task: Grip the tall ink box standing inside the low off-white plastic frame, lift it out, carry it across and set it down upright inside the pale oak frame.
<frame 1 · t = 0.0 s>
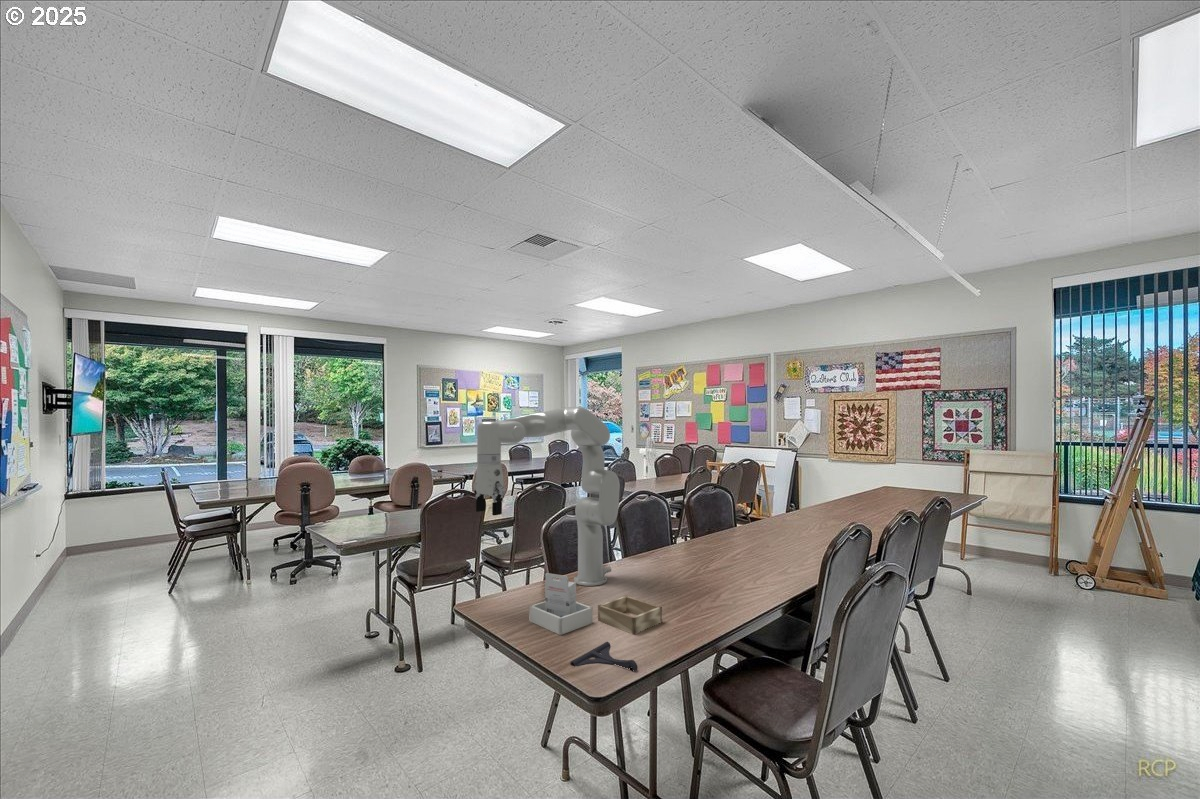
hand: (488, 513, 163), 31 cm above the table, tool pointing down, fingers open, 9 cm apart
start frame: (560, 622, 153), on the table
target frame: (629, 621, 153), on the table
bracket: (611, 666, 127), on the table
ink box: (560, 622, 153), resting in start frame
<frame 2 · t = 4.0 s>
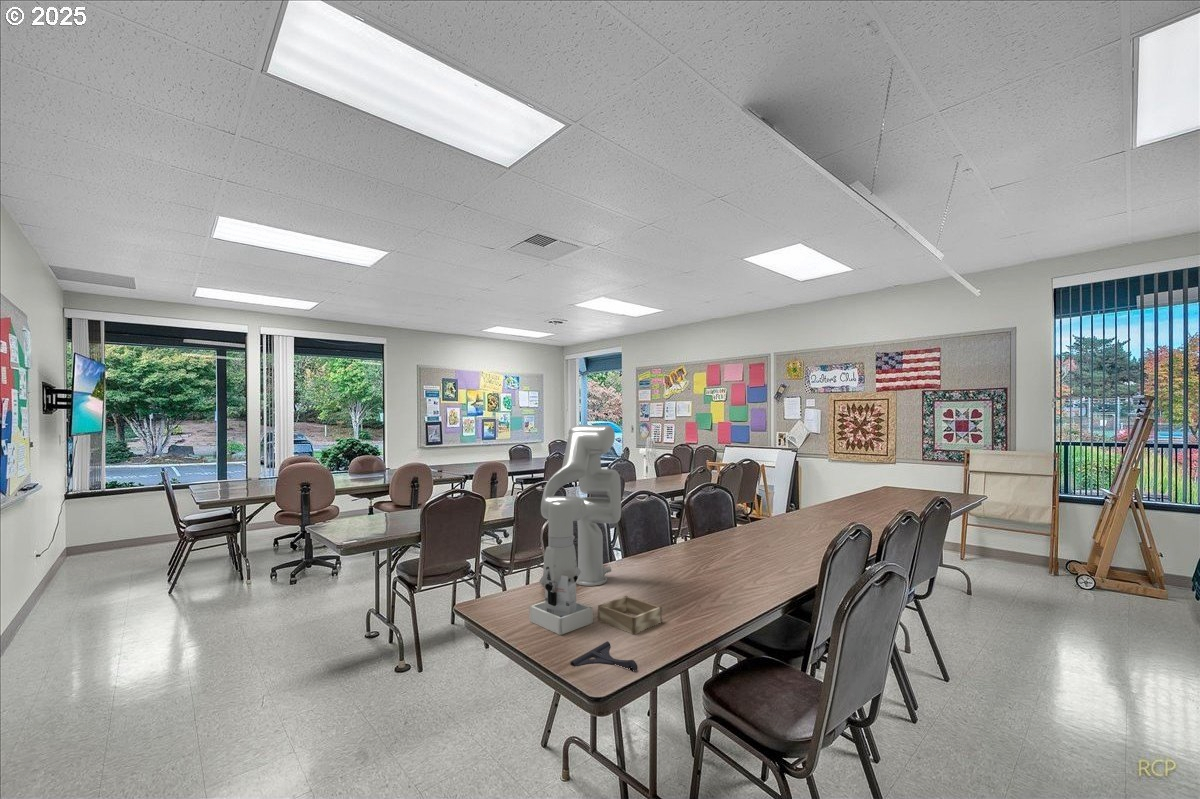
hand: (560, 601, 153), 6 cm above the table, tool pointing down, fingers closed on ink box, 6 cm apart
ink box: (560, 622, 153), resting in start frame, touching gripper
everything else where it was.
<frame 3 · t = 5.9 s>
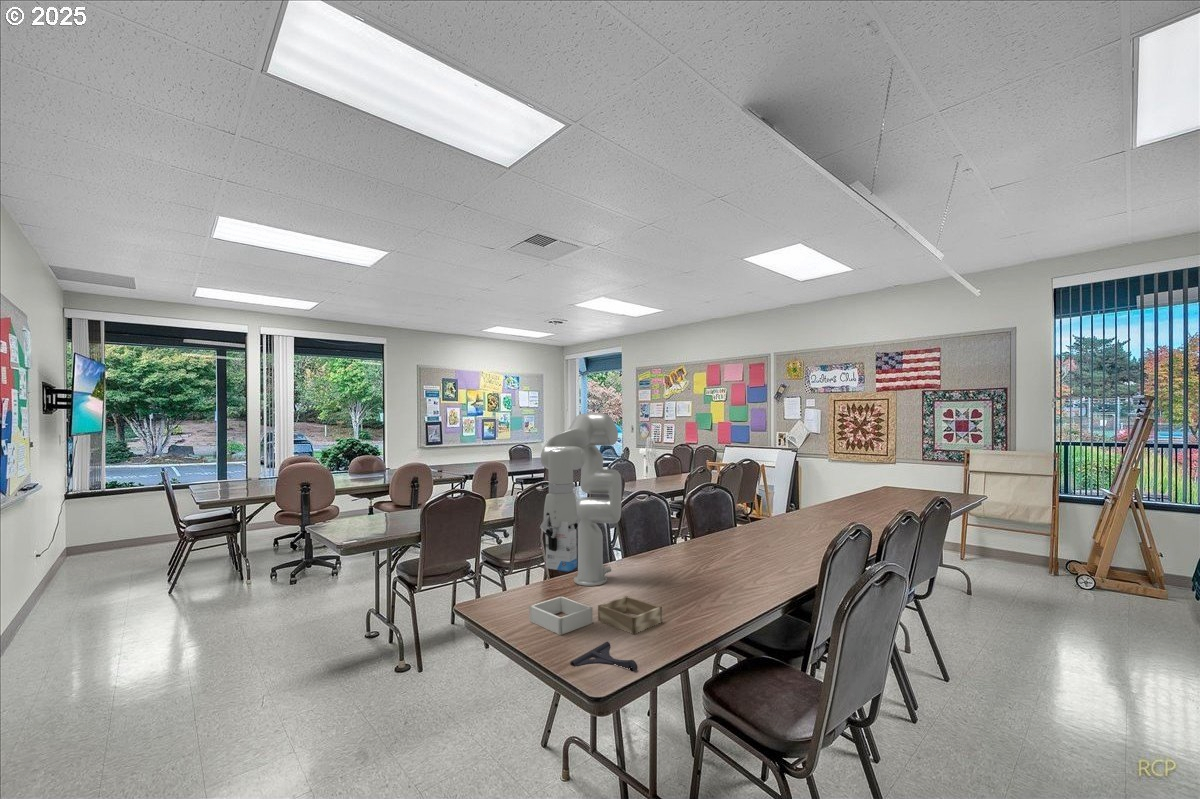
hand: (561, 547, 155), 22 cm above the table, tool pointing down, fingers closed on ink box, 6 cm apart
ink box: (561, 568, 154), point 16 cm above the table, touching gripper
everything else where it was.
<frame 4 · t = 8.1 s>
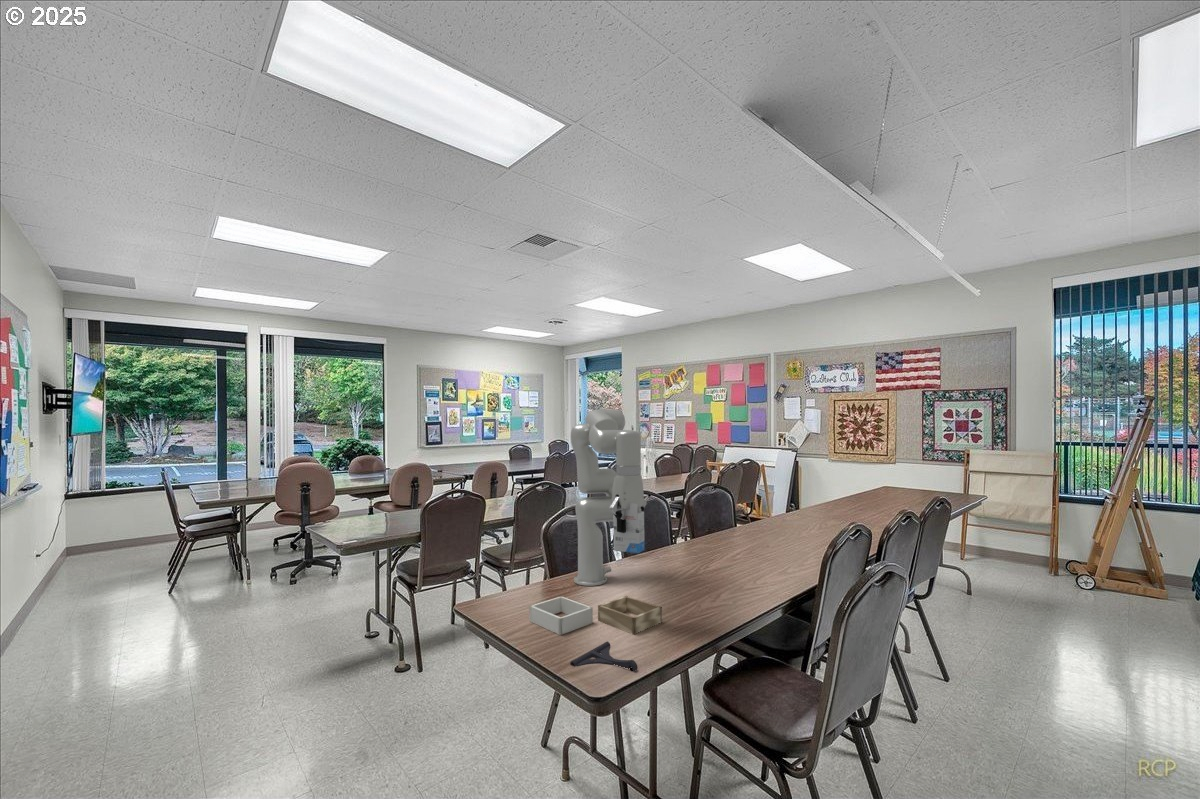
hand: (628, 530, 155), 27 cm above the table, tool pointing down, fingers closed on ink box, 6 cm apart
ink box: (629, 551, 154), point 21 cm above the table, touching gripper
everything else where it was.
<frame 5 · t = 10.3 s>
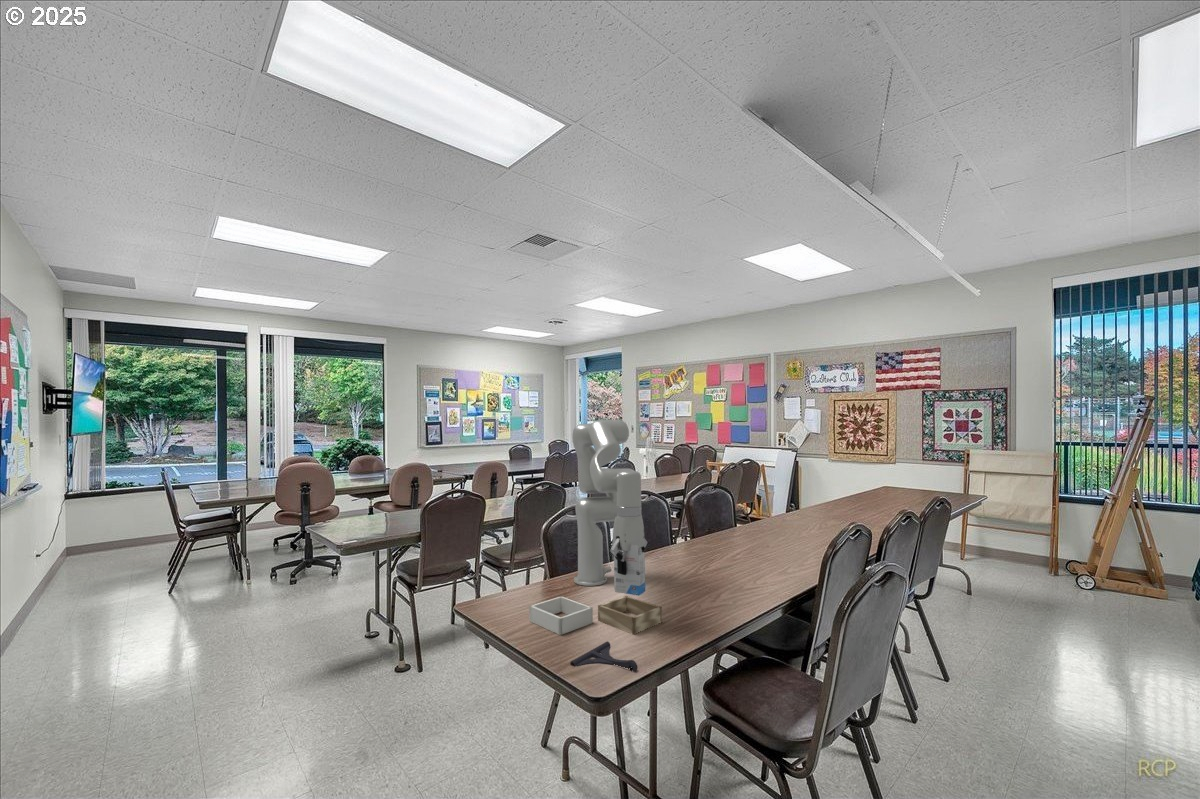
hand: (629, 571, 154), 15 cm above the table, tool pointing down, fingers closed on ink box, 6 cm apart
ink box: (629, 592, 153), point 9 cm above the table, touching gripper
everything else where it was.
when the fingers open (8 cm above the table, at t = 12.2 s): ink box drops 2 cm, resting in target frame.
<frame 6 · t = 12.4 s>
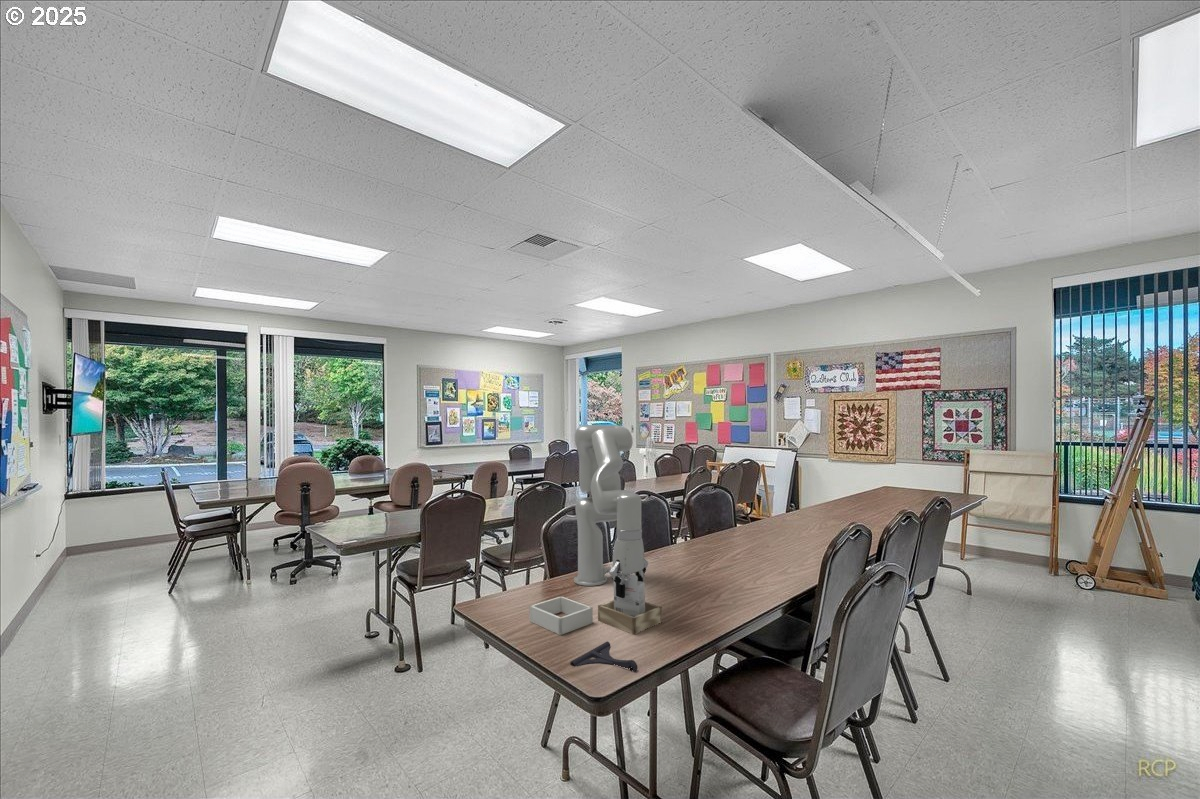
hand: (629, 593, 153), 8 cm above the table, tool pointing down, fingers open, 7 cm apart
ink box: (629, 621, 153), resting in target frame
everything else where it was.
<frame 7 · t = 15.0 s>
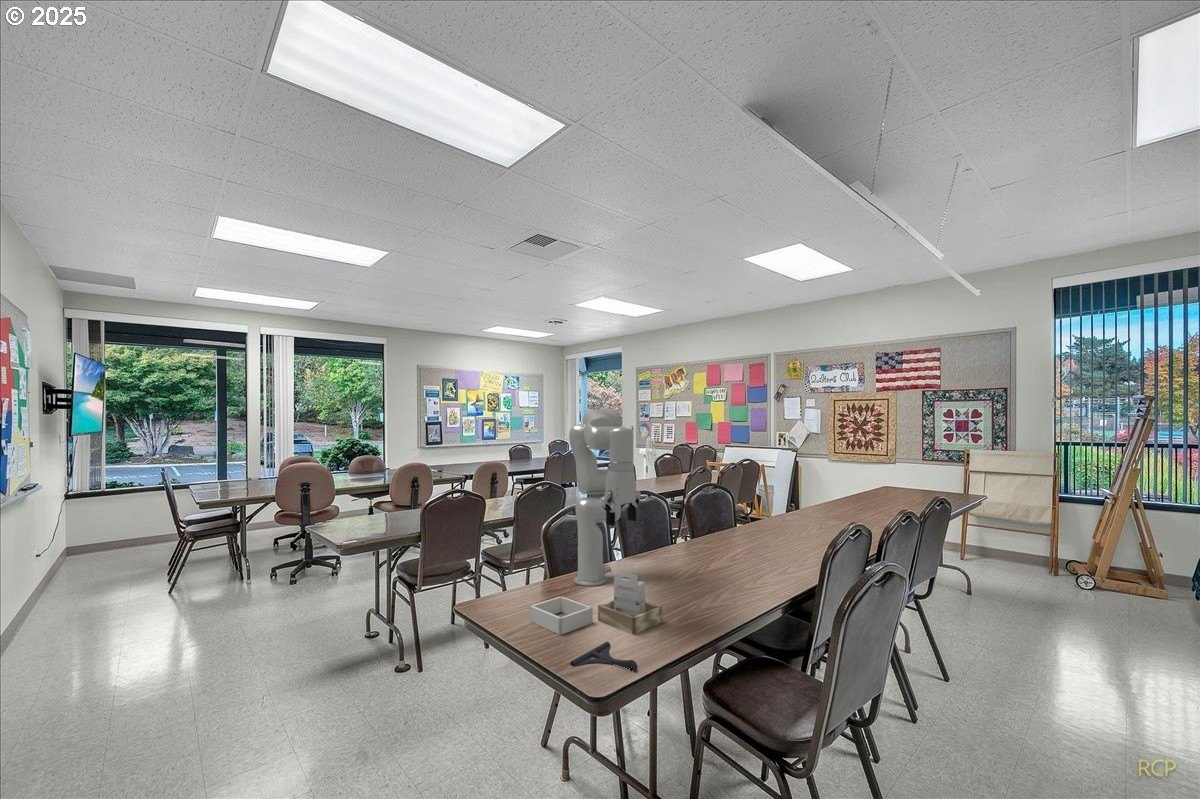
hand: (621, 522, 158), 29 cm above the table, tool pointing down, fingers open, 9 cm apart
nothing on the table moved.
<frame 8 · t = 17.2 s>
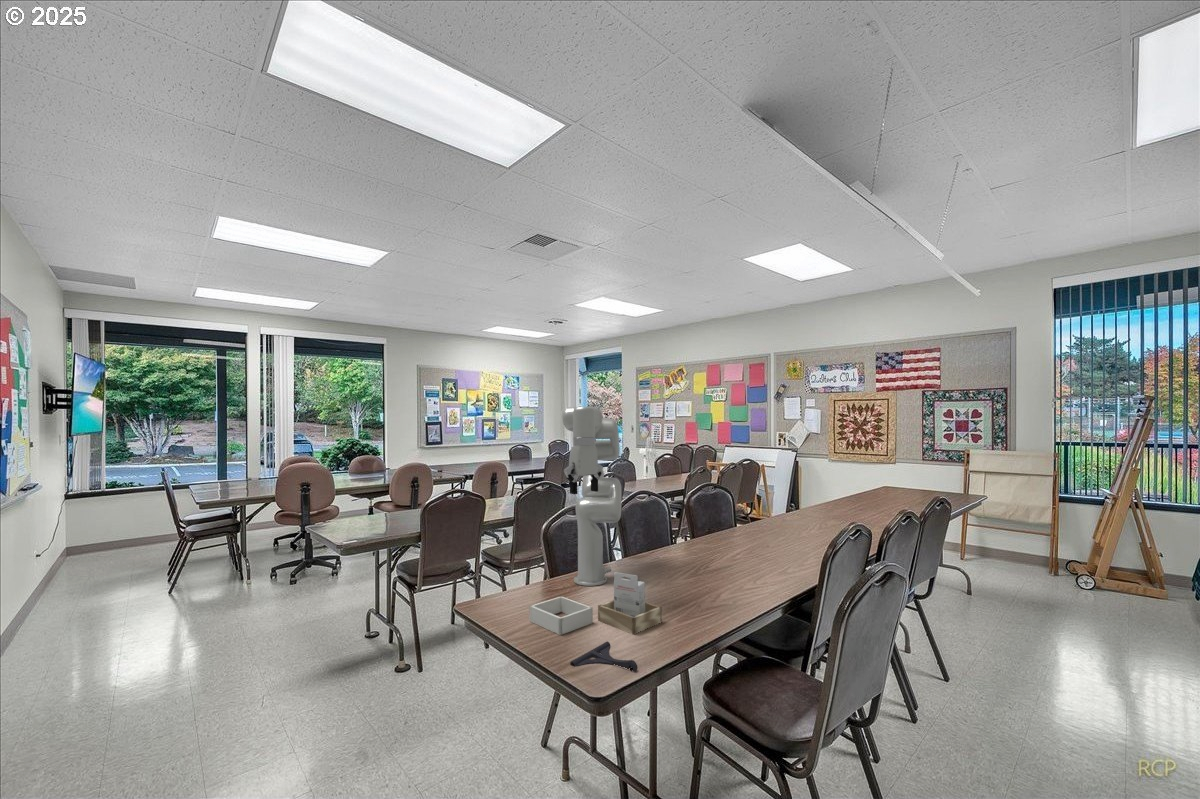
hand: (584, 492, 174), 36 cm above the table, tool pointing down, fingers open, 9 cm apart
nothing on the table moved.
at the end: ink box inside the target area on the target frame (0.3 cm from its centre), point 0.0 cm above the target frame's base; ink box tilted 0°; the gripper is holding nothing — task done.
